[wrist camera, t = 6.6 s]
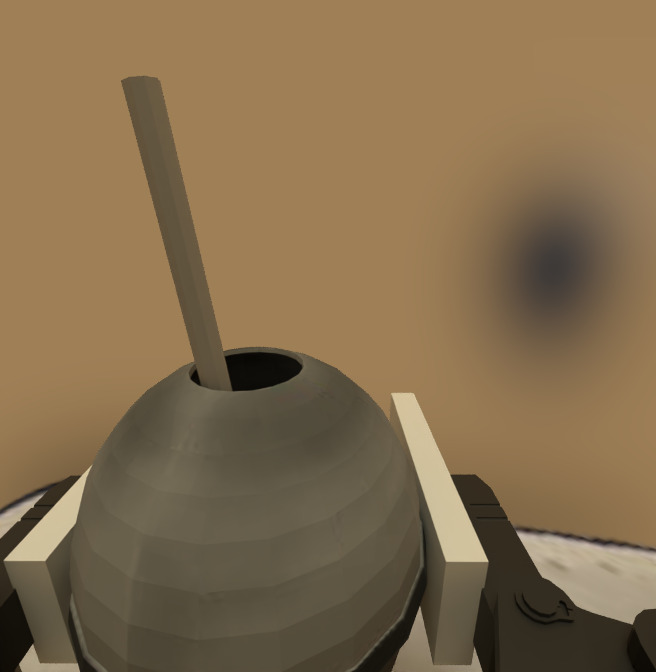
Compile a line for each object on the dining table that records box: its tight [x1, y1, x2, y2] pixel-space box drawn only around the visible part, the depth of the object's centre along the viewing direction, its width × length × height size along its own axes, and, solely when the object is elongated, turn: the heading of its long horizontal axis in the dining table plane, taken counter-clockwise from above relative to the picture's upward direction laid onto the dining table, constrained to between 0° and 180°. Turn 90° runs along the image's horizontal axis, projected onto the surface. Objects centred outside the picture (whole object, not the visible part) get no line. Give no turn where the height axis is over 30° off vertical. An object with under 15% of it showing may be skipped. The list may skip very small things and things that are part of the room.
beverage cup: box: [68, 76, 427, 672], centre depth 9 cm, size 7×7×20 cm
